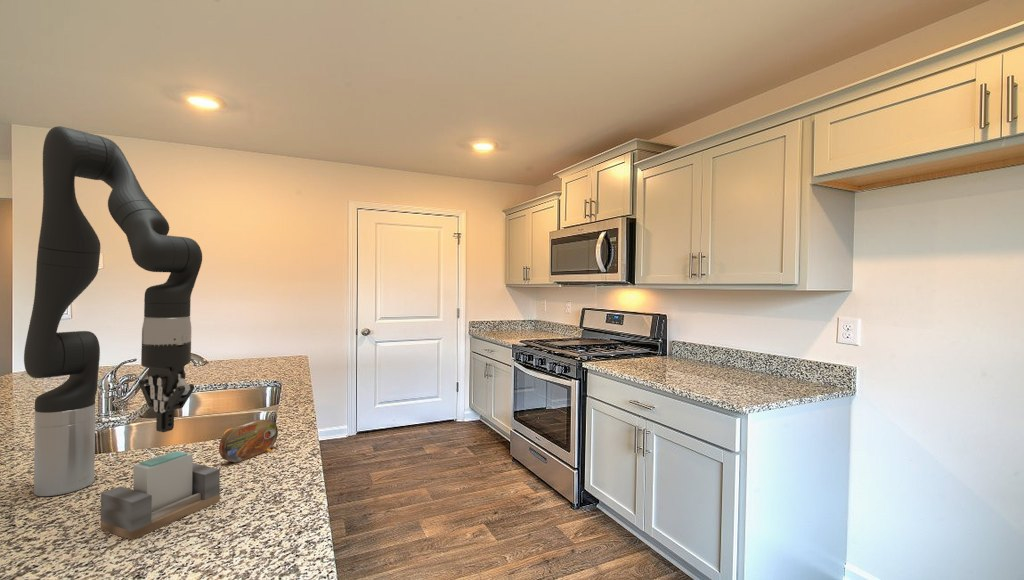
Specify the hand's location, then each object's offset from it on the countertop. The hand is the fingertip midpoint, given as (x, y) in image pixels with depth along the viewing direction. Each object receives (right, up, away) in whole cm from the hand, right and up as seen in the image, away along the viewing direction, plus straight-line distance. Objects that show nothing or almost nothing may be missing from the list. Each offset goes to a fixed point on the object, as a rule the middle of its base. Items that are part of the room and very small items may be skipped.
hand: (165, 430), depth 86 cm
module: (0, -15, 0) cm, 15 cm away
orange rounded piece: (-5, -16, +36) cm, 40 cm away
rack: (0, -16, 0) cm, 16 cm away
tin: (-1, -16, +30) cm, 34 cm away
